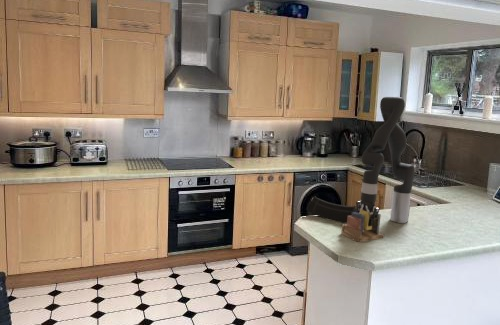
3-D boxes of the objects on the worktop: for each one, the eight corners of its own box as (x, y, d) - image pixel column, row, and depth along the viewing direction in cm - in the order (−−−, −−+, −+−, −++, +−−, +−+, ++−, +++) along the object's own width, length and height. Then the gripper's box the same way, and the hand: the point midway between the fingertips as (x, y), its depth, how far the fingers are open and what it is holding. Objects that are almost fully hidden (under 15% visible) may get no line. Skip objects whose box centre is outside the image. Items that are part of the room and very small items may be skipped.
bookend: (366, 228, 216) (369, 210, 214) (378, 233, 209) (380, 214, 208) (365, 228, 216) (367, 210, 214) (376, 234, 209) (379, 214, 207)
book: (363, 225, 213) (365, 208, 211) (371, 229, 208) (373, 212, 206) (358, 226, 211) (360, 209, 209) (366, 230, 206) (368, 212, 205)
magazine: (364, 209, 224) (317, 184, 238) (362, 211, 221) (315, 185, 236) (352, 236, 230) (307, 210, 244) (350, 238, 227) (304, 211, 241)
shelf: (365, 229, 219) (368, 208, 217) (383, 237, 209) (385, 215, 207) (341, 233, 210) (343, 212, 208) (358, 242, 200) (360, 219, 198)
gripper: (385, 194, 202) (381, 227, 205) (364, 187, 214) (360, 219, 217) (374, 195, 198) (370, 229, 201) (353, 188, 211) (349, 220, 214)
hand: (365, 224), depth 209 cm, fingers closed on book, 5 cm apart
